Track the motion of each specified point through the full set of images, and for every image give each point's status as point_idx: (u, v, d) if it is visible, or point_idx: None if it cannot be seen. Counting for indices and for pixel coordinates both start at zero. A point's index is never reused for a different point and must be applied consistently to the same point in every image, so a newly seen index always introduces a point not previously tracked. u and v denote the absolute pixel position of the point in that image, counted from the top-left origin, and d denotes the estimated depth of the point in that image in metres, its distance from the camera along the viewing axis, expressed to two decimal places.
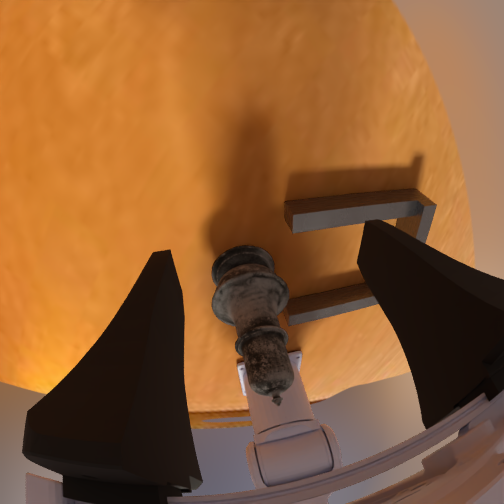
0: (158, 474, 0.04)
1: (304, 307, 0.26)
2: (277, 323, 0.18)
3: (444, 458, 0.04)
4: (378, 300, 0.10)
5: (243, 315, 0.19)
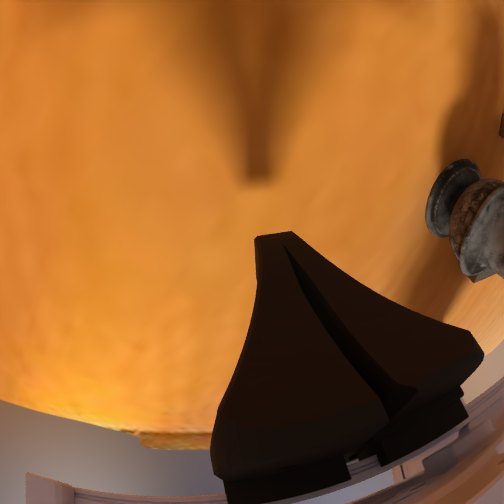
0: None
1: None
2: None
3: (444, 458, 0.04)
4: None
5: None
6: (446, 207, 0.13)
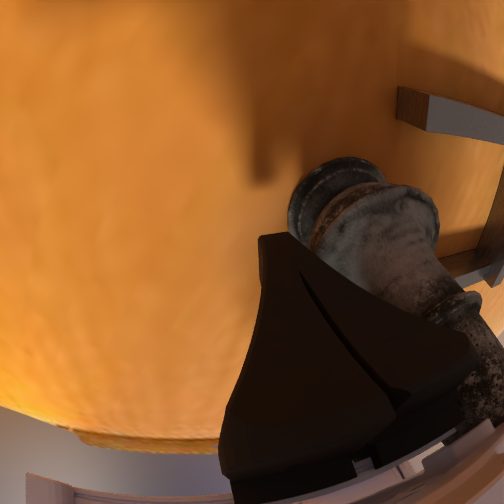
0: None
1: None
2: None
3: (444, 458, 0.04)
4: None
5: (404, 276, 0.07)
6: None
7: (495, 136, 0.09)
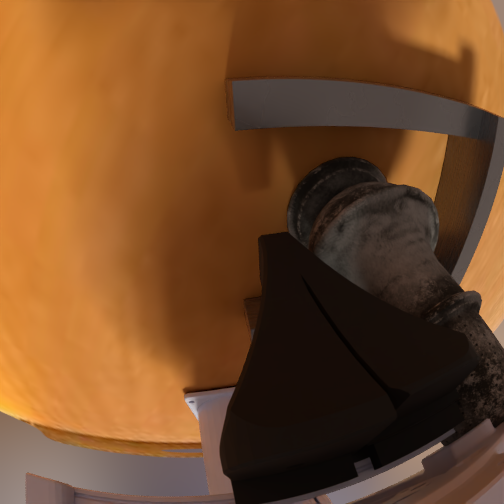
0: None
1: None
2: None
3: (444, 458, 0.04)
4: None
5: (403, 276, 0.07)
6: None
7: (393, 118, 0.08)
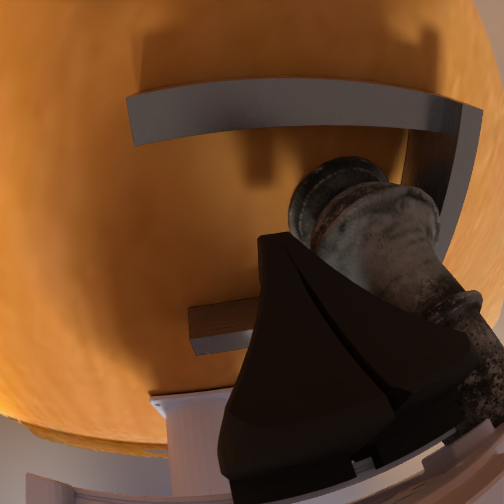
0: None
1: (222, 324, 0.14)
2: None
3: (444, 458, 0.04)
4: None
5: (404, 276, 0.07)
6: None
7: (317, 114, 0.08)
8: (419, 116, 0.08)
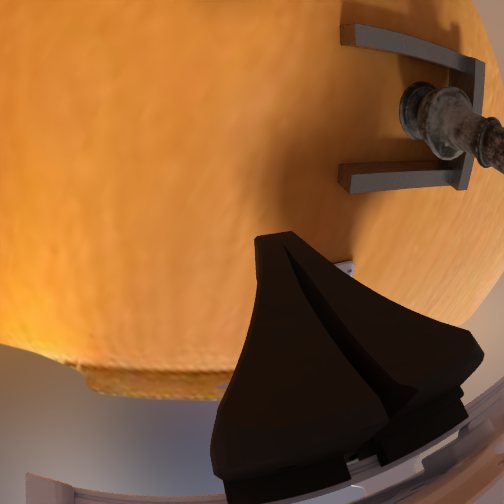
0: None
1: (367, 170, 0.19)
2: None
3: (444, 458, 0.04)
4: None
5: (468, 116, 0.13)
6: (414, 113, 0.17)
7: (420, 53, 0.13)
8: (456, 63, 0.13)
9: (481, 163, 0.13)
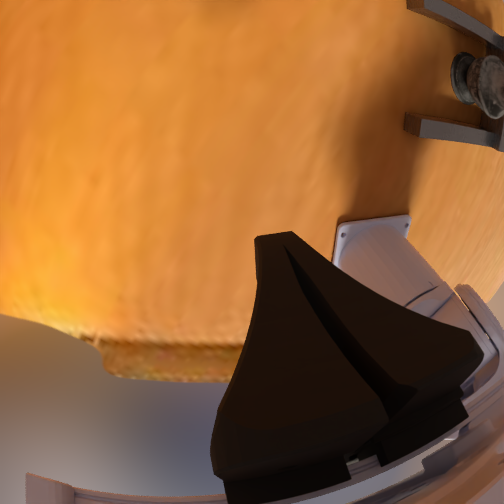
0: None
1: (430, 118, 0.17)
2: None
3: (444, 458, 0.04)
4: None
5: None
6: (463, 77, 0.16)
7: (469, 26, 0.11)
8: (494, 39, 0.12)
9: None
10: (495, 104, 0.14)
